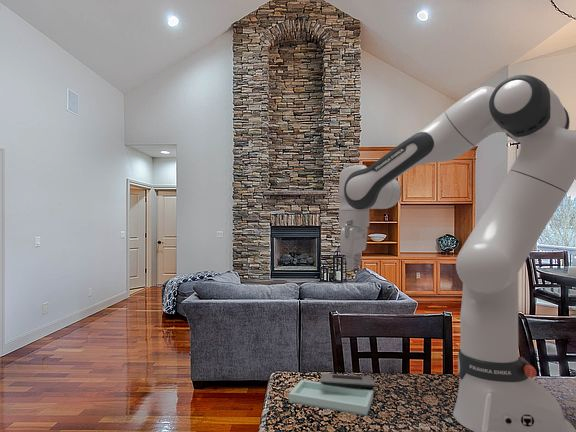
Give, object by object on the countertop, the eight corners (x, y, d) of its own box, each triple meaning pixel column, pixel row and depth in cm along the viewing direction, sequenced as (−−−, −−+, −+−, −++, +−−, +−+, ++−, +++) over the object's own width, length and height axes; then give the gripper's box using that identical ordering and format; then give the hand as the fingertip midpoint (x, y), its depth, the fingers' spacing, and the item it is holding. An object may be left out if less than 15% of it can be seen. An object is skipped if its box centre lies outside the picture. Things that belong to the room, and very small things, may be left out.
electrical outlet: (371, 385, 104) (371, 375, 104) (375, 393, 94) (375, 382, 94) (321, 381, 105) (321, 372, 106) (320, 389, 95) (321, 379, 96)
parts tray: (373, 398, 94) (373, 390, 94) (366, 416, 86) (366, 406, 86) (301, 387, 101) (301, 379, 101) (288, 402, 92) (288, 393, 92)
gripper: (357, 220, 104) (357, 272, 104) (370, 221, 123) (370, 265, 123) (334, 220, 106) (334, 271, 106) (350, 221, 125) (350, 264, 125)
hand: (354, 268), depth 114 cm, fingers open, 8 cm apart
